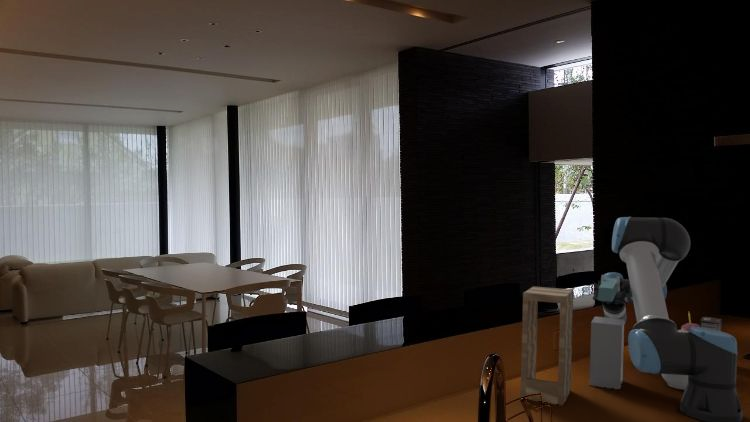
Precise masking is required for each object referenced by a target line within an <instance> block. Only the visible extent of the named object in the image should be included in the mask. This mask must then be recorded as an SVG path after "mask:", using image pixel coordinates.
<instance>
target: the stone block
mask: <svg viewBox="0 0 750 422" xmlns="http://www.w3.org/2000/svg"><path fill="white" fill-rule="evenodd" d="M624 341H625V324H624V319H616V318H605V316H604V317H603V316H594V317H593V319H592V320H591V322H590V352H589V354H590V355H589V356H590V357H589V358H590V359H589V360H590V361H589V386H590V385H591V387H597V386H598V388H604V387H606V389H611V388H614V389H613V390H618V389H620V388H622V385H621V384H623V379H624V378H623V376H624V375H623V374H624V373H623V370H624V343H625V342H624ZM620 390H621V389H620Z"/></svg>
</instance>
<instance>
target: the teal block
mask: <svg viewBox="0 0 750 422" xmlns="http://www.w3.org/2000/svg"><path fill="white" fill-rule="evenodd" d="M616 283H617V279H615V278H605V280H604V281H603V282H602V284H601V285H600V286H599V290H598V292H599V293H598V299H597V301H600V302H602V301H610V302H612V301H613V299H614V297H615V296H616V294H617V292H618V291H617V284H616Z"/></svg>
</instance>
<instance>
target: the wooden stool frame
mask: <svg viewBox="0 0 750 422" xmlns="http://www.w3.org/2000/svg"><path fill="white" fill-rule="evenodd" d="M539 302H541V303H542V302H543V303H555V304H559V307H560V308H559V336H558V337H559V339H558V341H559V343H558V344H559V345H558V371H557V372H558V373H557V374H558V375H557V376H558V377H557V381H553V380H552V381H551V380H545V379H538V378H536V377H537V353H538V352H537V347H538V343H537V342H538V307H539V306H538V305H539V304H538V303H539ZM573 307H574V289H569V288H568V289H567V288H557V287H545V286H543V287H542V286H534V285H533V286H531V287H530V288H528V289H527V290H526V291H523V293H522V320H521V323H522V324H521V325H522V326H521V327H522V329H521V366H520V398H521V397H524V396H527V395H531V394H538V393H541V396H542V401H543V402H542V403H544V402H548V403H547V404H550V403H551V404H550V405H556V404H559V405H558V406H564V405H565V403H564V402H566V401H567V399H568V398H569V397H568V396H569V395H570V393H571V390H572V389H571V387H572V386H571V385H572V384H571V383H572V348H573V347H572V345H573V316H574V315H573V311H574V310H573V309H574V308H573ZM531 398H532V399H531V400H532V402H537V403H539V402H538V401H539V400H540V397H539V396H534V397H531ZM531 400H530V401H531ZM563 404H564V405H563Z"/></svg>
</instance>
